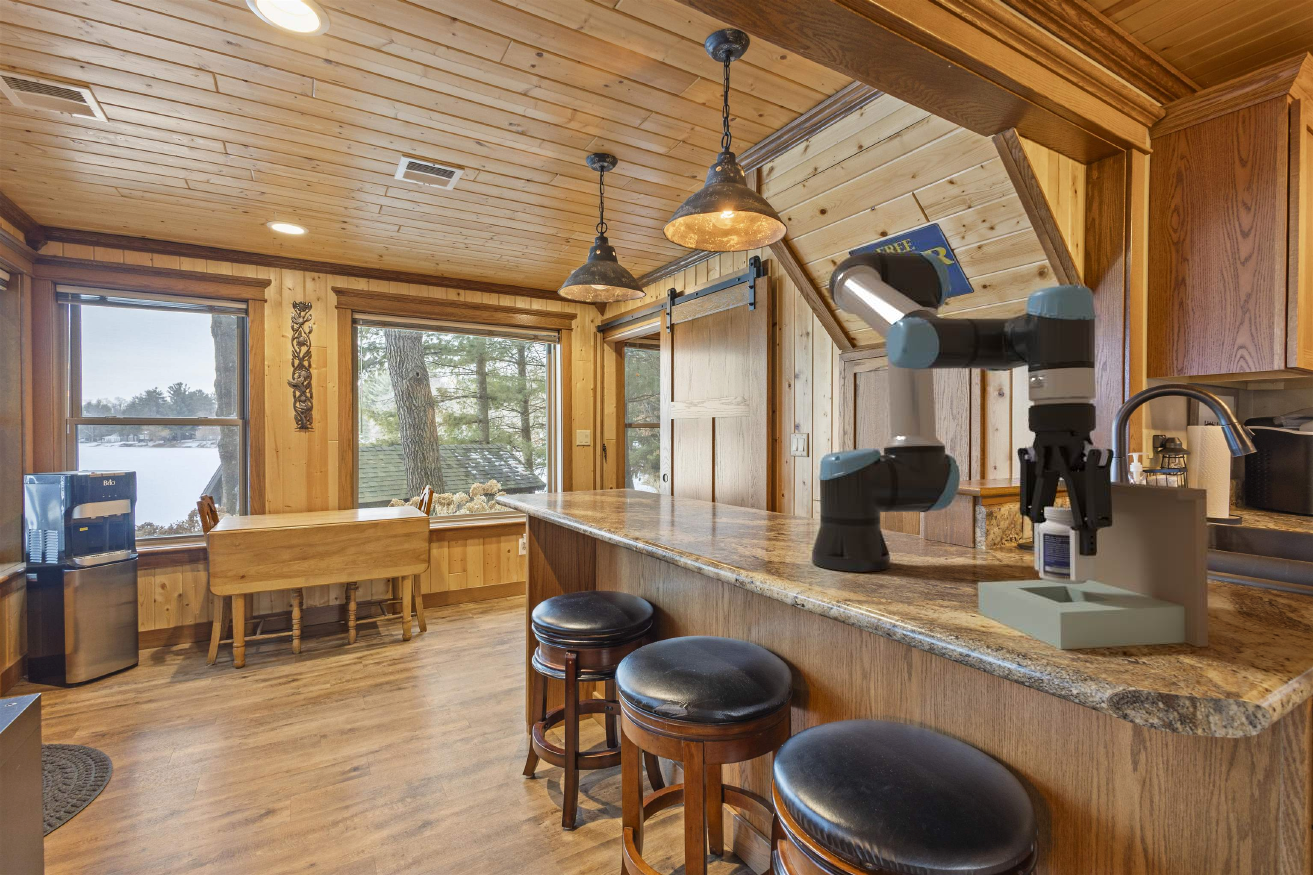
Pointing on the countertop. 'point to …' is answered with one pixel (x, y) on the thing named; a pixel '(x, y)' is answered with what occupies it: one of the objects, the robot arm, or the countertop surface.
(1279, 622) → the countertop surface
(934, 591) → the countertop surface
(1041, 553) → the pill bottle
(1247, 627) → the countertop surface
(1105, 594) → the socket stand
